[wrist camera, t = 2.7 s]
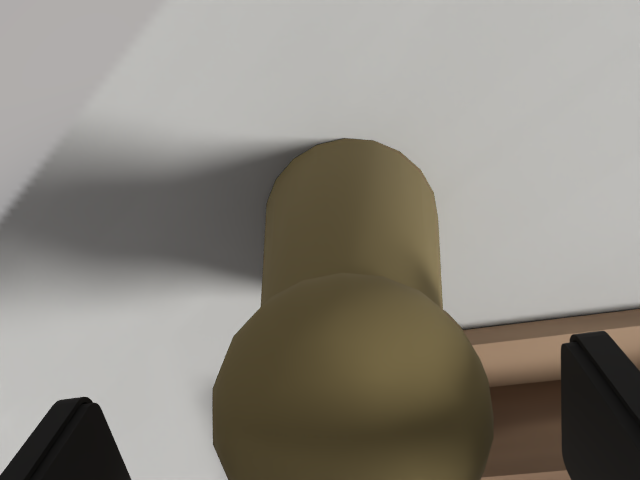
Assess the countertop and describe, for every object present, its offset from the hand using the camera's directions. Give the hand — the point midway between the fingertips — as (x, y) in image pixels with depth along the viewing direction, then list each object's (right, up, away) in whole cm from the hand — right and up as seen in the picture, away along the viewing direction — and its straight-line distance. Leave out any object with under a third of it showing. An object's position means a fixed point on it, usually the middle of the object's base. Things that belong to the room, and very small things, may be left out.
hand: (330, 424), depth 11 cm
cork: (+1, +4, +8) cm, 9 cm away
